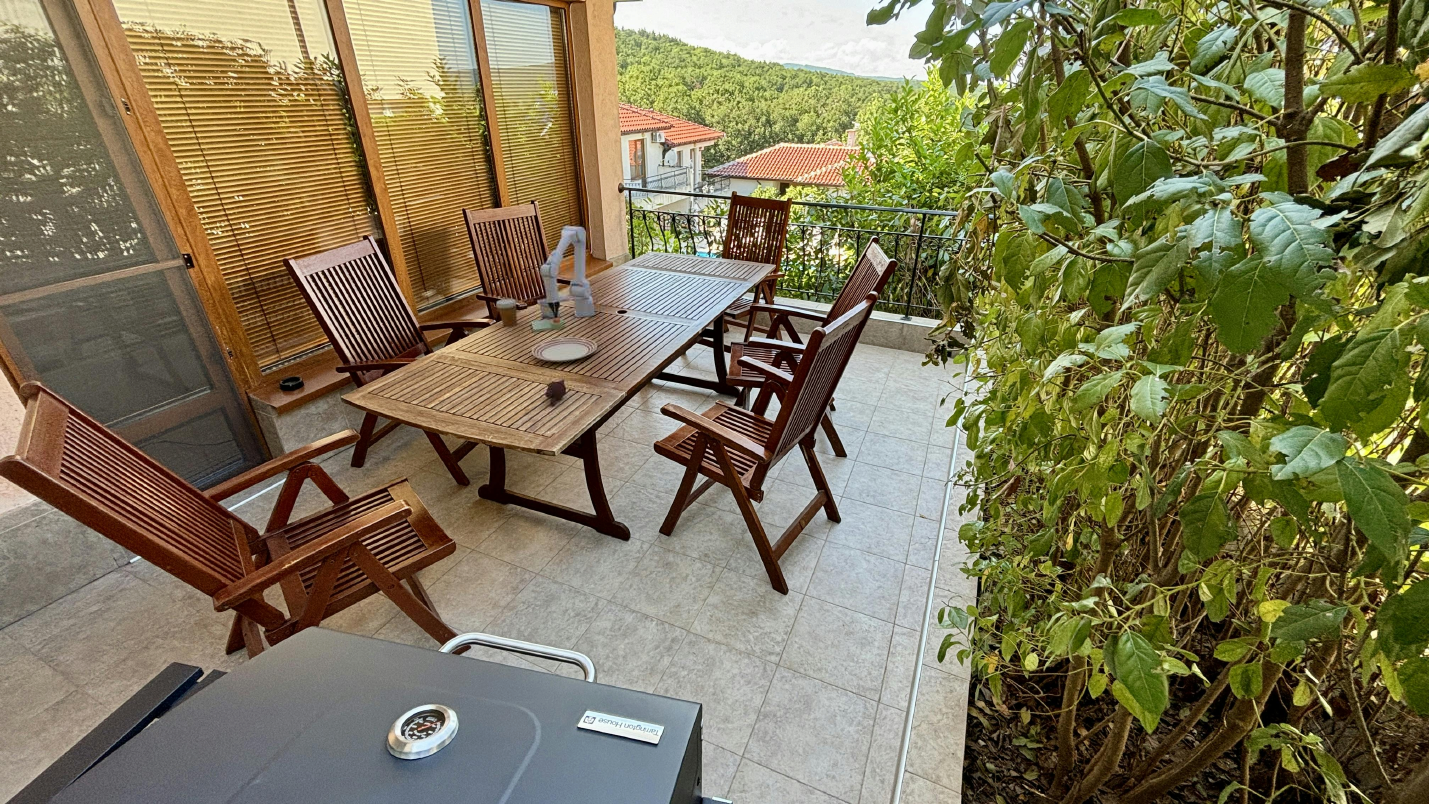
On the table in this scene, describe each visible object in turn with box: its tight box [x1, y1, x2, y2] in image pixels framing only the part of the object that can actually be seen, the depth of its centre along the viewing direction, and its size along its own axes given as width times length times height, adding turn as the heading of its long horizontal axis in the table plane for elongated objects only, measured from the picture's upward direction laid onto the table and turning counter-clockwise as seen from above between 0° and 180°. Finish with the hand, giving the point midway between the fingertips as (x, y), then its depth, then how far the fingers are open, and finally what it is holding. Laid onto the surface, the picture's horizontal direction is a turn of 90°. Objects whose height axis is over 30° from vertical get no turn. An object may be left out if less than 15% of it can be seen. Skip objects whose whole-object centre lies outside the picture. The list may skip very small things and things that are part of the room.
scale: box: [530, 318, 564, 333], centre depth 291 cm, size 15×13×3 cm
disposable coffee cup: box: [495, 298, 518, 328], centre depth 292 cm, size 10×10×12 cm
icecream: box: [544, 379, 567, 407], centre depth 220 cm, size 7×7×15 cm
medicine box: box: [539, 303, 560, 319], centre depth 302 cm, size 8×4×9 cm, turn 68°
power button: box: [553, 317, 561, 323], centre depth 288 cm, size 3×3×2 cm
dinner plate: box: [531, 336, 598, 363], centre depth 258 cm, size 27×27×3 cm
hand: (555, 317), depth 287 cm, fingers closed
